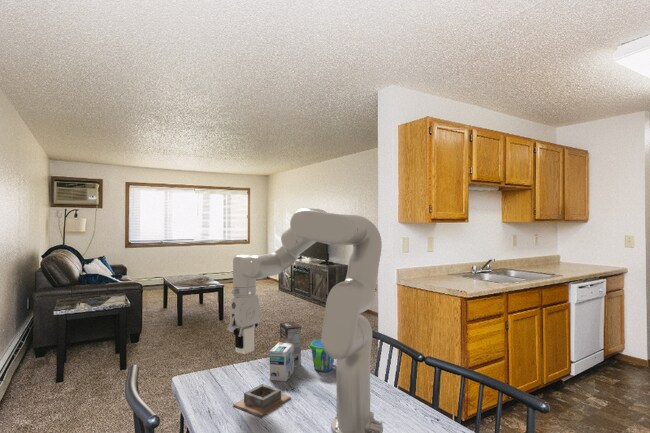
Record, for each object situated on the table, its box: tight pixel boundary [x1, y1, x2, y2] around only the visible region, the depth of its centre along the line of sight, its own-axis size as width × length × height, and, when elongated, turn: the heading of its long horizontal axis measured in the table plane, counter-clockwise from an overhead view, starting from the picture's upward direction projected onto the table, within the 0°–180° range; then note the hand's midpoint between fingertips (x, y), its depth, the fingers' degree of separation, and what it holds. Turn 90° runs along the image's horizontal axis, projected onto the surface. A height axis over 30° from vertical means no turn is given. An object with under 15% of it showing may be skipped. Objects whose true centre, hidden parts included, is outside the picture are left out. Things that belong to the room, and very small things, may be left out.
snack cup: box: [309, 339, 335, 373], centre depth 145 cm, size 16×11×10 cm
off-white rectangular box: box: [234, 326, 255, 355], centre depth 122 cm, size 4×4×8 cm
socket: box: [233, 383, 292, 418], centre depth 117 cm, size 12×14×3 cm
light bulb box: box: [269, 342, 295, 382], centre depth 139 cm, size 11×7×11 cm, turn 168°
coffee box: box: [279, 321, 302, 368], centre depth 151 cm, size 9×6×16 cm
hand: (244, 345), depth 122 cm, fingers closed on off-white rectangular box, 4 cm apart
